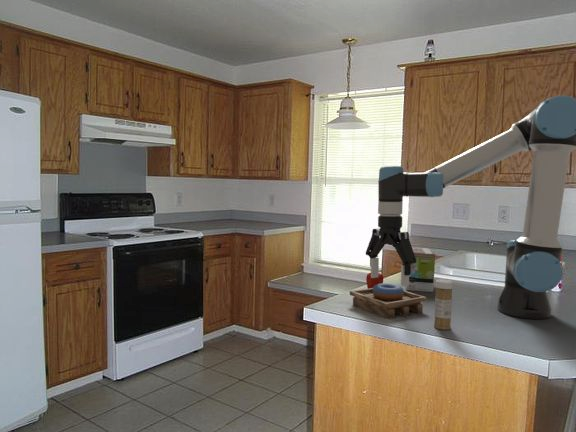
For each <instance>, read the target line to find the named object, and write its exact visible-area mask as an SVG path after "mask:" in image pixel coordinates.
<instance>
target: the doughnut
mask: <svg viewBox="0 0 576 432" xmlns="http://www.w3.org/2000/svg"><path fill="white" fill-rule="evenodd" d="M404 291H405V290H404V288H403V286H401V285H398V284H394V283H384V282H383V283H382V284H377V285H375V286H374V287H373V295H374V296H375V297H376V298H378V299H381V300H388V301H395V300H400V299H401V298H403V296H404Z"/></svg>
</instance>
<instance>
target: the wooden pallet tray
mask: <svg viewBox="0 0 576 432" xmlns="http://www.w3.org/2000/svg"><path fill="white" fill-rule="evenodd" d="M372 292H373V288H369V289H368V288H363V289H356V290H350V291H349V296H352V305H353V306H355V307H357V308H361V309H363V310H366V311H368V312H371V313H373V314H375V315H379V316H380V317H383V316H384V318H386V319H389V320H390V318H391V319H395V314H397V313H398V314H397V315H400V314H401V315H400V316H402V317H403V316H404V317H406V316H405V315H407V316H409V315H410V311H411V312H413V313H416V314H420V313H423V307H424V305H423V304H421V303H422V302H426V301H427V296H423V295H420V294H417V293H415V292H414V293H413V292H410V291H408V290H404V296H403V298H401V299H400V300H395V301H388V300H381V299H378V298H376V297H375V296H374V295H373V293H372Z"/></svg>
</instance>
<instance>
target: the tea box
mask: <svg viewBox="0 0 576 432" xmlns="http://www.w3.org/2000/svg"><path fill="white" fill-rule="evenodd" d="M412 249H413V252H414V255H415V258H416V263H413V264H411V274H410V275H409V285H407V286H405V289H406V291H412V292H413V291H414V292H427V293H430V292H431V293H432V292H434V287H435V286H434V285H435V283H434V282H435V269H436V268H435V267H436V253H435V252H434V251H433V249H431V248H423V247H412ZM411 260H412V259H411ZM406 261H407V260H406Z"/></svg>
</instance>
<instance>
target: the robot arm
mask: <svg viewBox="0 0 576 432" xmlns="http://www.w3.org/2000/svg"><path fill="white" fill-rule="evenodd" d="M575 150H576V98H575V97H574V96H570V95H565V94H564V95H562V94H561V95H556V96H551V97H549V98H547V99H544V100H543V101H542V102H540V103H539V104H538V105H537V107H536V108H534V110H532V111H531V112H530V113H528V114H527V115H526V116H525V117H523V118H522V119H520V120H518V121H517V122H514V123H512V125H511V127H510V129H508V130H506V131H504V132H502V133H500V134H498V135H496V136H494V137H492V138H490V139H489V140H486V141H484V142H482V143H481V144H478V145H477V146H475V147H472V148H470V149H468V150H467V151H464V152H463V153H461V154H459V155H457V156H454V157H453V158H451V159H449V160H447V161H445V162H442V163H441V164H439V165H437V166H434V168H431V169H429V170H427V171H425V172H424V171H423V172H420V171H419V172H406V171H405V172H404V167H403V166H401V165H400V166H399V165H390V166H389V165H388V166H387V165H384V166H381V167H380V168H379V170H378V190H377V191H378V193H377V194H378V202H377V203H378V205H377V206H378V207H377V214H378V216H377V226H378V228H373V229H372V231H371V237H370V239H369V243H368V244H367V248H366V251H365V255H366V256H368V257H369V266H370V273H371V278H377V277H378V275H379V273H380V271H379V267H380V266H379V265H380V264H379V263H380V259H379V258H380V257H379V254H380V253H381V251H382V250H383V248H384V247H385V246H386V245H389V246H392V247H393V248H394V249H395V251H396V253H397V254H398V256H399V259H400V260H401V262H402V264H401V265H400V266H401V267H400V286H401V287H406V286H407V285H409V275H410V274H411V264H413V263H416V258H415V255H414V252H413V249H412V248H413V247H412V243H411V241H410V233H409V232H408V231H402V230H401V229H402V227H403V216H402V214H403V201H404V200H403V197H419V198H420V197H423V198H424V197H425V198H435V197H436V198H437V197H442V196H443V194H444V189H445V188H447V187H449V186H451V185H453V184H455V183H458V182H460V181H461V180H464V179H466V178H467V177H470V176H472V175H474V174H476V173H478V172H480V171H482V170H485V169H486V168H488V167H491V166H493V165H495V164H497V163H499V162H501V161H503V160H506V159H508V158H509V157H511V156H514V155H516V154H517V153H520V152H522V151H523V152H529V151H533V157H532V163H531V171H530V179H529V186H528V193H527V200H526V208H525V215H524V222H523V230H522V235H520V236H519V237H518V238H517V239H510V240H509V241H507V244H506V247H505V251H506V259H505V273H504V286H503V289H502V291H501V294H500V295H499V298H498V301H497V307H496V309H497V311H499V312H501V313H503V314H505V315H508V316H512V317H518V318H522V319H528V320H529V319H532V320H545V319H548V318H551V317H552V306H551V303H550V299H549V296H548V291H551V290H553V289H554V288H556V287H557V286H558V285H559V284H560V282H561V281H562V278H563V274H564V270H563V264H562V263H561V259H562V258H561V257H562V252H563V245H562V243H560V241H558V233H559V227H560V221H561V220H560V219H561V214H562V207H563V199H564V193H565V185H566V179H567V178H566V177H567V173H568V172H567V171H568V166H569V165H568V163H569V159H570V158H569V157H570V154H571V153H572V152H573V151H575ZM411 259H412V260H411ZM406 260H407V261H406Z"/></svg>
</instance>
